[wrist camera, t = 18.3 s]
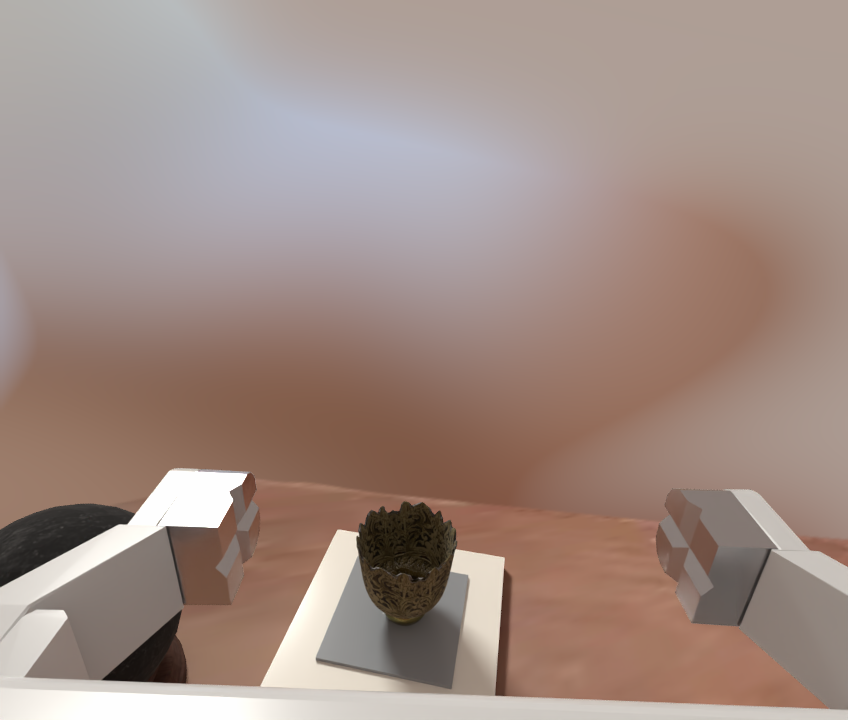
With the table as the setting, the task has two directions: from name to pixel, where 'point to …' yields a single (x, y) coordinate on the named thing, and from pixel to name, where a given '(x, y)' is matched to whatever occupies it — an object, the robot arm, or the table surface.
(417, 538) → the cup
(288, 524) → the table surface
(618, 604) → the table surface
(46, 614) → the robot arm
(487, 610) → the tile plinth
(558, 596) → the table surface
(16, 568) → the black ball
